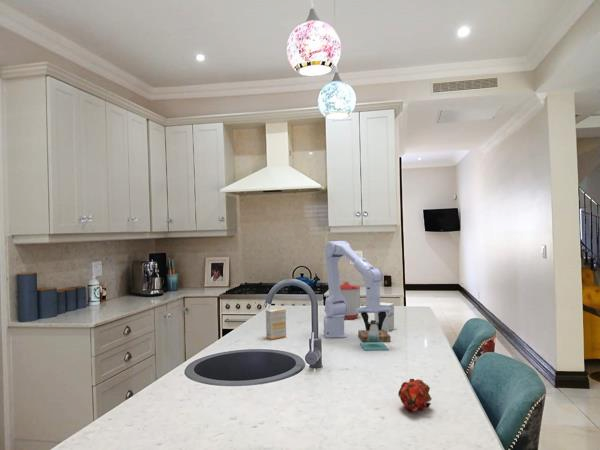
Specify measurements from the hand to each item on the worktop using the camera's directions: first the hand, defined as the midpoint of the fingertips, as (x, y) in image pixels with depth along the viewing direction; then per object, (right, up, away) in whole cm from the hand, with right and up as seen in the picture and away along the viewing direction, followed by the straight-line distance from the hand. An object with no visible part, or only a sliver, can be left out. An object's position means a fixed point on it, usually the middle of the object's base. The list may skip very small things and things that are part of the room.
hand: (373, 330), depth 180 cm
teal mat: (0, -7, 0) cm, 7 cm away
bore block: (+2, -7, +13) cm, 15 cm away
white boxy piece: (+11, -7, +31) cm, 33 cm away
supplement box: (-42, -8, +17) cm, 46 cm away
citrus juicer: (-6, -8, +59) cm, 60 cm away
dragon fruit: (+1, -7, -61) cm, 61 cm away
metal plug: (0, -4, +1) cm, 4 cm away
